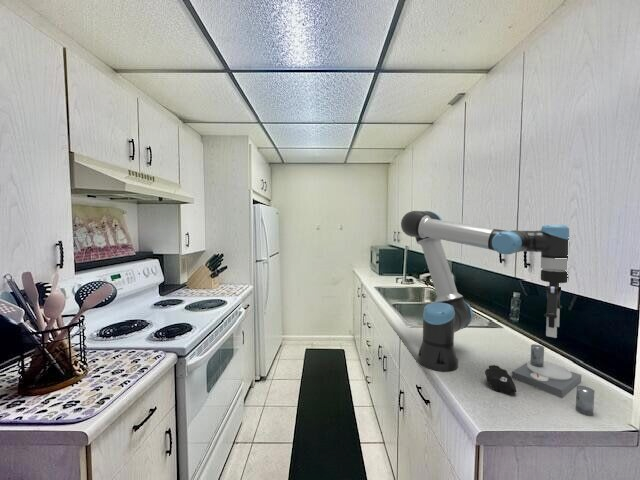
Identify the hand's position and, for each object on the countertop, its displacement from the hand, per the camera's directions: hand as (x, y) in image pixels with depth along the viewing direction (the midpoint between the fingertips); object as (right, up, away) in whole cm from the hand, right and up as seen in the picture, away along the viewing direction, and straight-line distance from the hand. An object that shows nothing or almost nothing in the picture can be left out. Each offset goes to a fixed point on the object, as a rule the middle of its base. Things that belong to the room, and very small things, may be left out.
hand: (552, 331), depth 103 cm
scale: (+1, -19, +5) cm, 20 cm away
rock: (-18, -20, +1) cm, 27 cm away
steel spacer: (-1, -20, -13) cm, 24 cm away
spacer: (+1, -15, +9) cm, 18 cm away
